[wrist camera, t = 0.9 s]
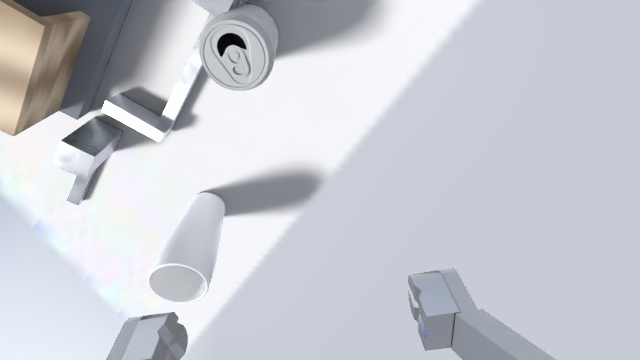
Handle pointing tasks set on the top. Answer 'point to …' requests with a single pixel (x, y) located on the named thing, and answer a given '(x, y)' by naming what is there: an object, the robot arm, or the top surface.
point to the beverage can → (239, 47)
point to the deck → (86, 45)
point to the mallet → (86, 154)
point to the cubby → (35, 63)
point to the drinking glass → (189, 252)
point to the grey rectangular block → (160, 127)
